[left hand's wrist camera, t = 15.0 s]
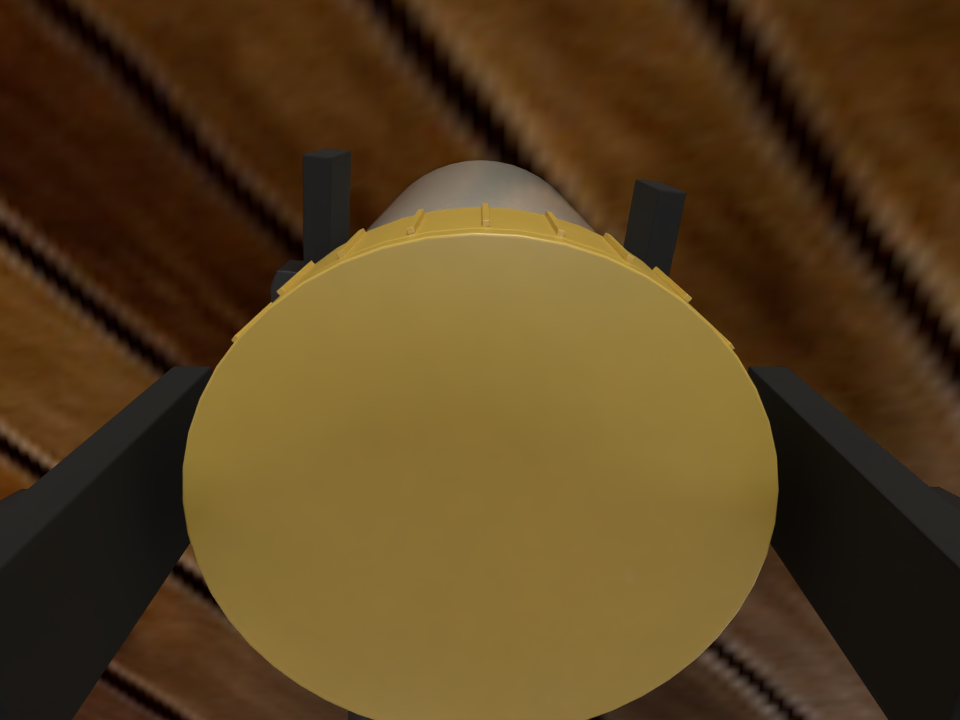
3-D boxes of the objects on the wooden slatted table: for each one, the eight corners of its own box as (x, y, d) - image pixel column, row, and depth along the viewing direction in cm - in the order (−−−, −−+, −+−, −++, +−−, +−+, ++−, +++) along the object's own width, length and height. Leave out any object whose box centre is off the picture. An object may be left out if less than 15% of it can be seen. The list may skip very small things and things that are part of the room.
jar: (325, 252, 25) (102, 460, 10) (503, 110, 23) (546, 111, 8) (460, 411, 28) (437, 759, 13) (630, 295, 26) (835, 547, 11)
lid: (411, 696, 15) (398, 803, 12) (128, 376, 12) (44, 439, 9) (799, 520, 13) (867, 607, 11) (582, 87, 10) (612, 80, 8)
